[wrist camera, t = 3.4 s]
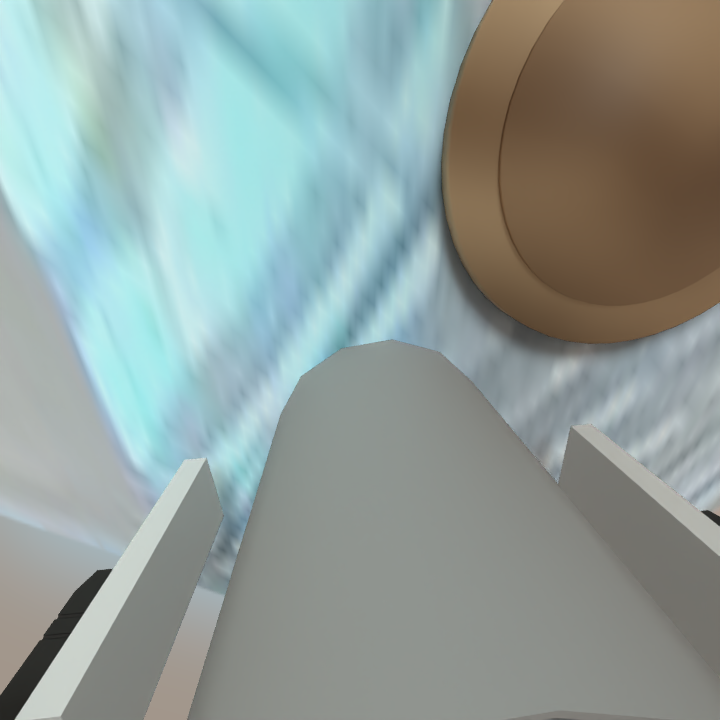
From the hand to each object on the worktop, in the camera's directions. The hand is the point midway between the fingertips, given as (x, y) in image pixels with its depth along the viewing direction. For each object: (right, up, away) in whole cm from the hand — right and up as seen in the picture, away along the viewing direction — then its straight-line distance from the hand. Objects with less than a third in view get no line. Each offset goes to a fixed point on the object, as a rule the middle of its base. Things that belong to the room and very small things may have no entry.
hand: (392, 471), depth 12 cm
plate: (+7, +11, -2) cm, 13 cm away
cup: (0, +1, +2) cm, 2 cm away
